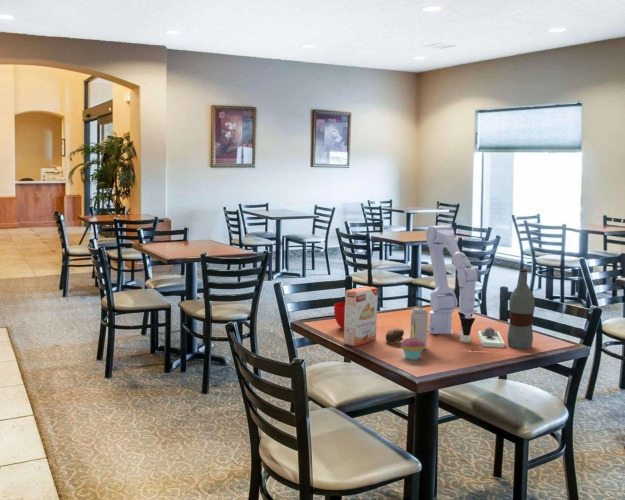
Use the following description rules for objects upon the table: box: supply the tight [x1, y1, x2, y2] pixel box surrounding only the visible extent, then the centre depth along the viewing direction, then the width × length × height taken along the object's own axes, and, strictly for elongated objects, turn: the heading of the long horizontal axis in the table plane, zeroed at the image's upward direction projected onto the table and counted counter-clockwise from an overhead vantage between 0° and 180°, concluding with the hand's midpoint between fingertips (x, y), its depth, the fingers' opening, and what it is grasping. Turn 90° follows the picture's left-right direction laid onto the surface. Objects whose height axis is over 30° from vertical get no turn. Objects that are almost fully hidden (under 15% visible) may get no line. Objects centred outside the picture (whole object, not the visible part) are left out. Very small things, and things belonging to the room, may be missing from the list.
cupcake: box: [400, 323, 426, 361], centre depth 230 cm, size 9×8×12 cm
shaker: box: [459, 327, 472, 344], centre depth 252 cm, size 4×4×6 cm
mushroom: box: [385, 327, 405, 345], centre depth 250 cm, size 8×8×6 cm
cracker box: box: [343, 285, 379, 347], centre depth 249 cm, size 14×6×21 cm, turn 139°
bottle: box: [507, 268, 536, 350], centre depth 244 cm, size 9×9×30 cm
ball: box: [483, 326, 496, 337], centre depth 258 cm, size 4×4×4 cm
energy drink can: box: [409, 307, 429, 348], centre depth 242 cm, size 6×6×15 cm
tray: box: [477, 330, 506, 349], centre depth 253 cm, size 8×18×2 cm, turn 171°
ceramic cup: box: [333, 301, 345, 331], centre depth 272 cm, size 13×17×10 cm
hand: (465, 332), depth 251 cm, fingers open, 7 cm apart
